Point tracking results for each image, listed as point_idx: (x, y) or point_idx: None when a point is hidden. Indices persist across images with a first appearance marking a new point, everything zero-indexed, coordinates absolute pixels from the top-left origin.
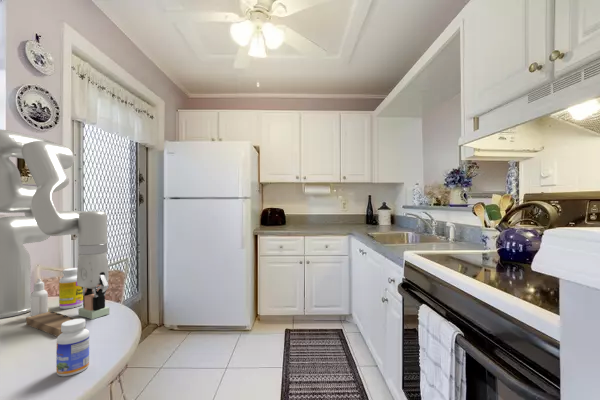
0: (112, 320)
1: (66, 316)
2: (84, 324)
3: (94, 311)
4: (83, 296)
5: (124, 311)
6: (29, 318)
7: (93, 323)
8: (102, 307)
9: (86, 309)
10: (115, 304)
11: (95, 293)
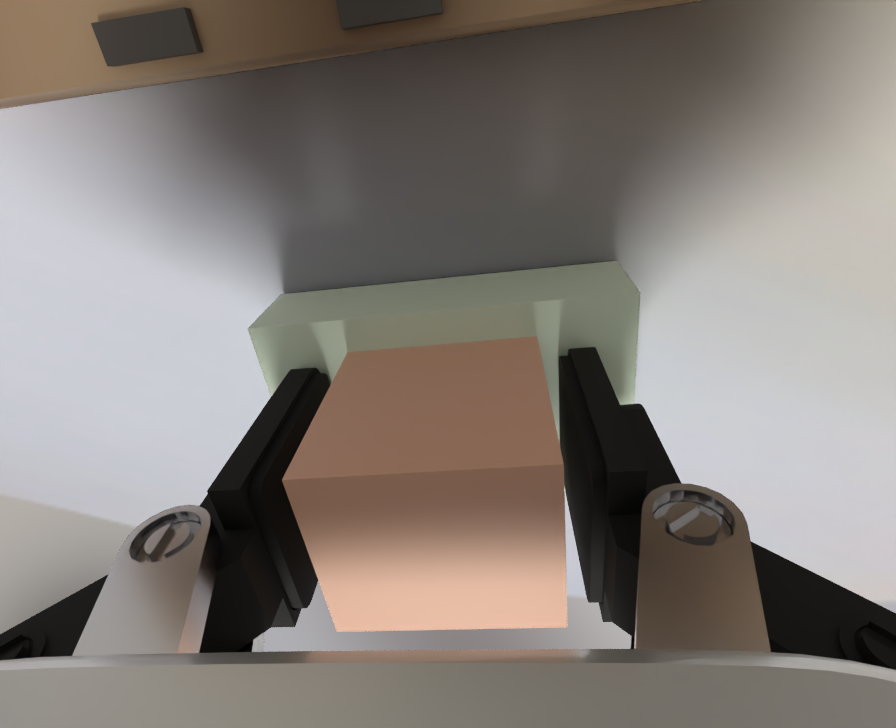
0: (83, 389)
1: (337, 3)
2: None
3: (267, 360)
4: (627, 457)
5: None
6: None
7: (116, 248)
8: None
9: (477, 340)
10: None
11: (128, 581)
